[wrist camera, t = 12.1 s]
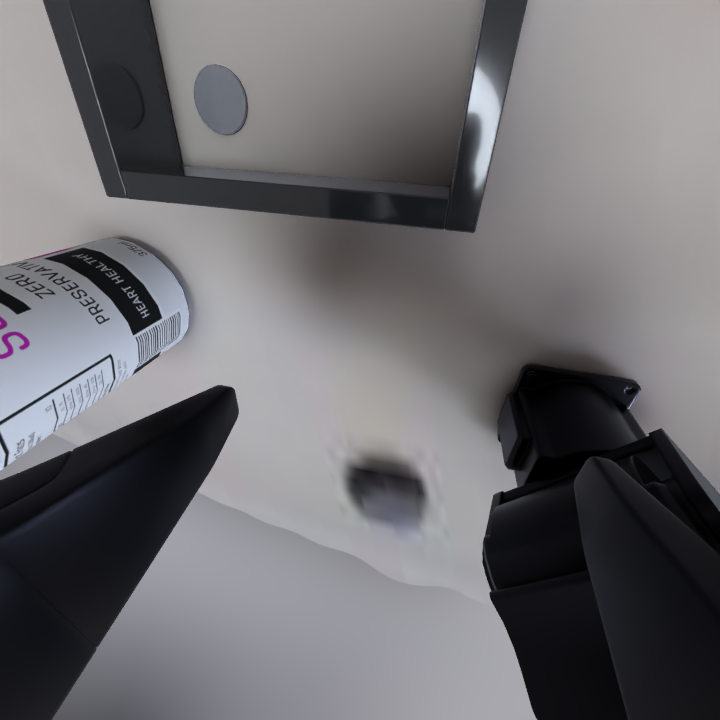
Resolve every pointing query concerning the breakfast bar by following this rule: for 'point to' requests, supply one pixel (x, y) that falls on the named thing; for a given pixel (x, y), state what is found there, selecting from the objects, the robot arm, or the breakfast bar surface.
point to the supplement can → (78, 333)
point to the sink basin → (228, 113)
